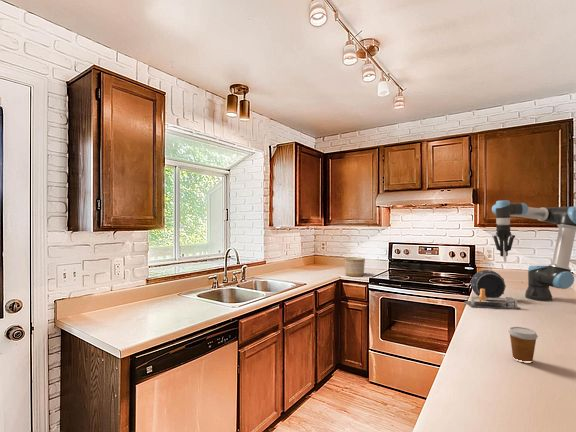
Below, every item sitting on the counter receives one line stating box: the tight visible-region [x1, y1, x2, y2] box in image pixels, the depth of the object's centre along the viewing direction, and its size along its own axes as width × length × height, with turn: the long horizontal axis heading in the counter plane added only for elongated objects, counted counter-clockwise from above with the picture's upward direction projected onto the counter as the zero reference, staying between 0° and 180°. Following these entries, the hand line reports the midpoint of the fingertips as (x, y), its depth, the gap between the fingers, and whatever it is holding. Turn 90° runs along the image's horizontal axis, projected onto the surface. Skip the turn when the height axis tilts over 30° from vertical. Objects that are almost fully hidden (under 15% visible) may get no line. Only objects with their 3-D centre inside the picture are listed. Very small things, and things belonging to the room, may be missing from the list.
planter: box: [344, 256, 366, 278], centre depth 319 cm, size 19×19×16 cm
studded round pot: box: [470, 269, 507, 298], centre depth 229 cm, size 11×20×20 cm, turn 78°
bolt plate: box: [464, 300, 521, 311], centre depth 213 cm, size 28×12×1 cm, turn 81°
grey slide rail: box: [470, 296, 518, 307], centre depth 211 cm, size 26×5×7 cm, turn 81°
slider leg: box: [478, 289, 487, 304], centre depth 211 cm, size 3×6×10 cm, turn 172°
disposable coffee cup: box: [508, 326, 539, 361], centre depth 133 cm, size 10×10×12 cm
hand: (504, 261), depth 213 cm, fingers closed
